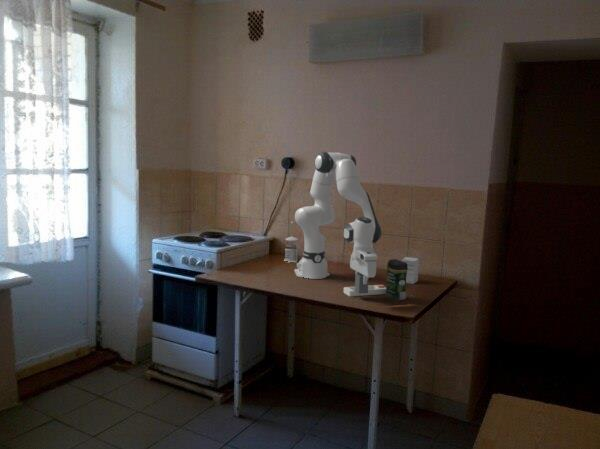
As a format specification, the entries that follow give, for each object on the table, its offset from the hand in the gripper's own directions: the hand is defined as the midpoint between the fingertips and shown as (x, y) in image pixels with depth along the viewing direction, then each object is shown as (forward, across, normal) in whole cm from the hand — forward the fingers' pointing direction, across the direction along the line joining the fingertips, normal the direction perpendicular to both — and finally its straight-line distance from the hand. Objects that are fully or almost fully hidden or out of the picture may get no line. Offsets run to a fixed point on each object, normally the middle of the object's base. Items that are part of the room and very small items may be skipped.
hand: (361, 282), depth 225 cm
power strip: (+8, -7, +6) cm, 13 cm away
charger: (+5, 0, 0) cm, 5 cm away
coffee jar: (+9, +2, +17) cm, 19 cm away
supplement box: (+9, -25, +41) cm, 49 cm away
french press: (+8, -86, -6) cm, 87 cm away
